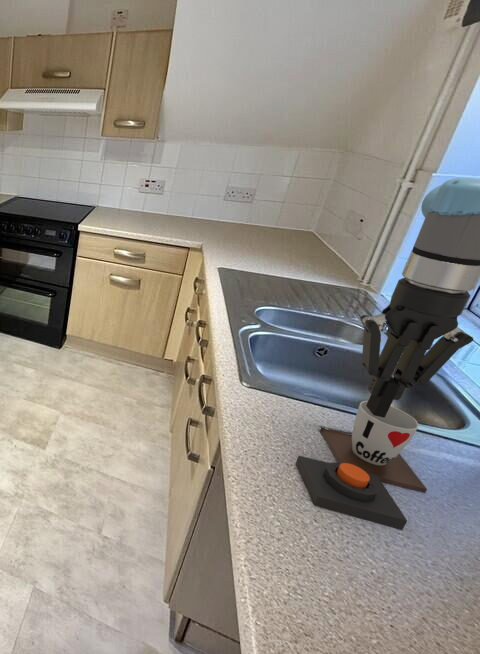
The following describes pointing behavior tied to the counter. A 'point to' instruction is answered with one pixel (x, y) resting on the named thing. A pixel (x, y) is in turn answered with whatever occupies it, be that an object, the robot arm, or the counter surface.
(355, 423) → the cup
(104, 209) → the counter surface
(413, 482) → the trivet
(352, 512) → the console
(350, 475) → the console button
